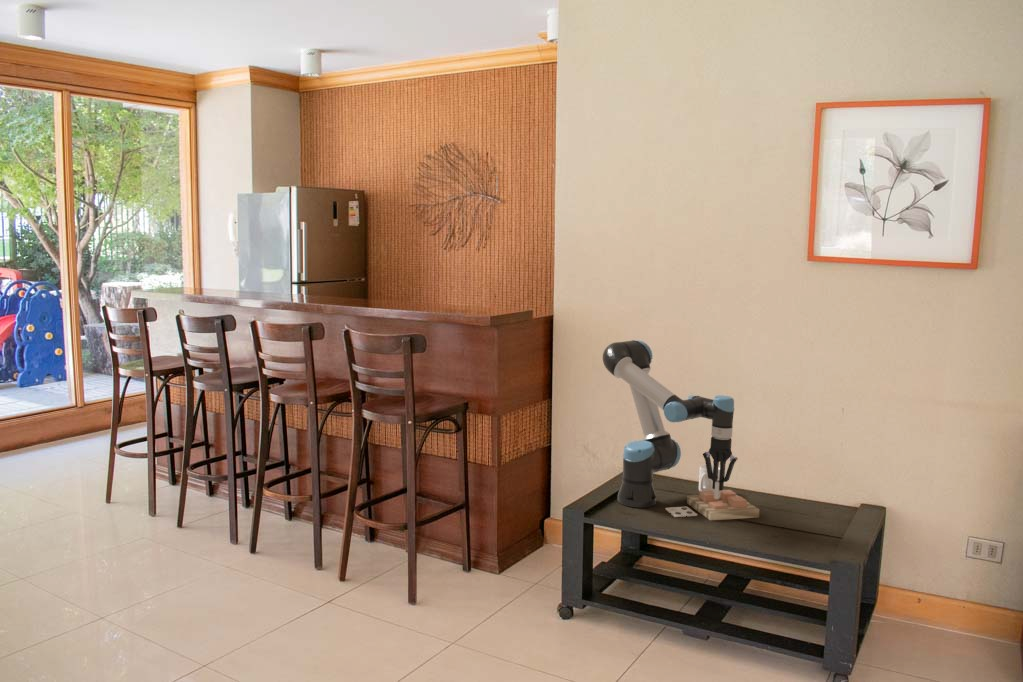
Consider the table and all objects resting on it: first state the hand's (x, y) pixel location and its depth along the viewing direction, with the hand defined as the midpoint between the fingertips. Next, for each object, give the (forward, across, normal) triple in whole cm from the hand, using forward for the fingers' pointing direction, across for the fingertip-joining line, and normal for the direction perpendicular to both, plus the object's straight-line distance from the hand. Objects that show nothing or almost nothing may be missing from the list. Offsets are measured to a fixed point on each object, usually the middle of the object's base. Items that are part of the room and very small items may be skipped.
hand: (717, 497), depth 312 cm
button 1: (+4, -5, +6) cm, 9 cm away
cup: (+7, -11, +23) cm, 27 cm away
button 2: (+6, +1, 0) cm, 6 cm away
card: (+6, -11, -7) cm, 15 cm away
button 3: (+4, +1, +11) cm, 12 cm away
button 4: (+4, +6, +6) cm, 9 cm away
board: (+6, +1, +6) cm, 8 cm away
